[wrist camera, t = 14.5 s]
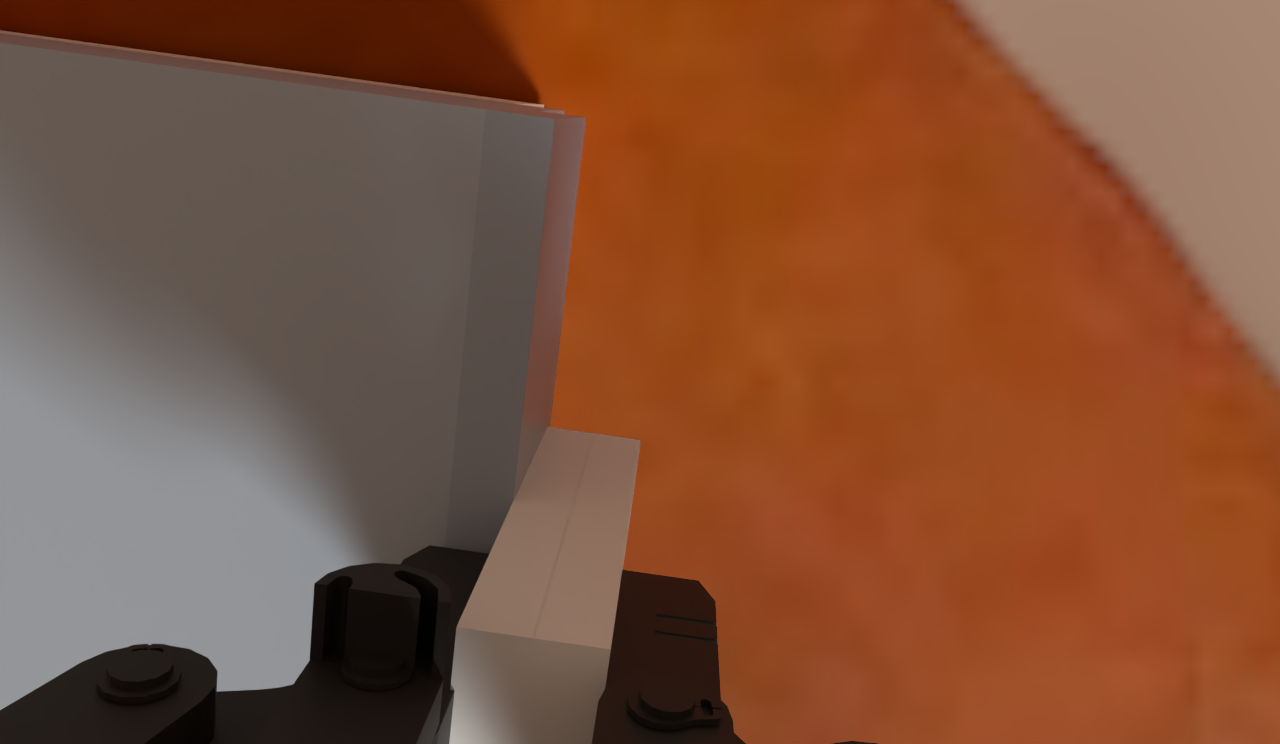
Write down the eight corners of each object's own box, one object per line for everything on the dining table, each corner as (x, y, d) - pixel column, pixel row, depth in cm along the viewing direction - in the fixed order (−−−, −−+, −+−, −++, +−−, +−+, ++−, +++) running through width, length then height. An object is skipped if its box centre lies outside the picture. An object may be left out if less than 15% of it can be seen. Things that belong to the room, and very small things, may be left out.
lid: (-146, 593, 22) (-555, 828, 15) (-179, 8, 20) (-709, -55, 12) (537, 693, 22) (460, 980, 15) (606, 116, 19) (555, 118, 12)
